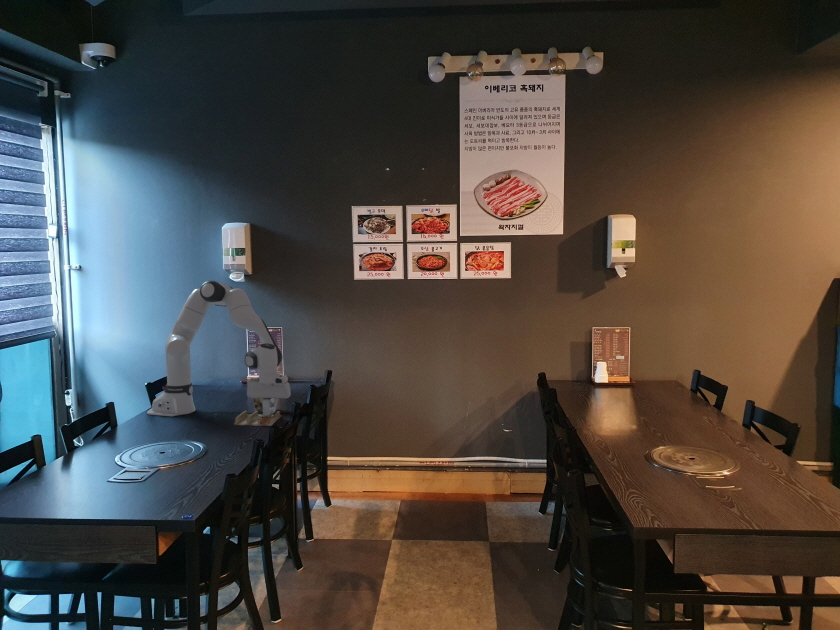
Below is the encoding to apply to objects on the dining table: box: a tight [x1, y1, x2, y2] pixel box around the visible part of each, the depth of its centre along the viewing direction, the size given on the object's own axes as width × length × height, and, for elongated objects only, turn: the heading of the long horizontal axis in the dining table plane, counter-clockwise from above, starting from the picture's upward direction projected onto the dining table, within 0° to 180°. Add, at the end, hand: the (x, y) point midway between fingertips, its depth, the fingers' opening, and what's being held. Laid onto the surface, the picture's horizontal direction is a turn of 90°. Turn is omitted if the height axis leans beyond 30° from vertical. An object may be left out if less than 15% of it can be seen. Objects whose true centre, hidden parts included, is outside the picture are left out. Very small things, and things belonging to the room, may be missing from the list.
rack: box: [233, 410, 282, 427], centre depth 282 cm, size 17×15×3 cm
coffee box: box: [253, 398, 265, 413], centre depth 300 cm, size 9×6×16 cm
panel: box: [262, 398, 277, 417], centre depth 282 cm, size 3×10×8 cm, turn 177°
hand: (269, 406), depth 282 cm, fingers closed on panel, 3 cm apart
